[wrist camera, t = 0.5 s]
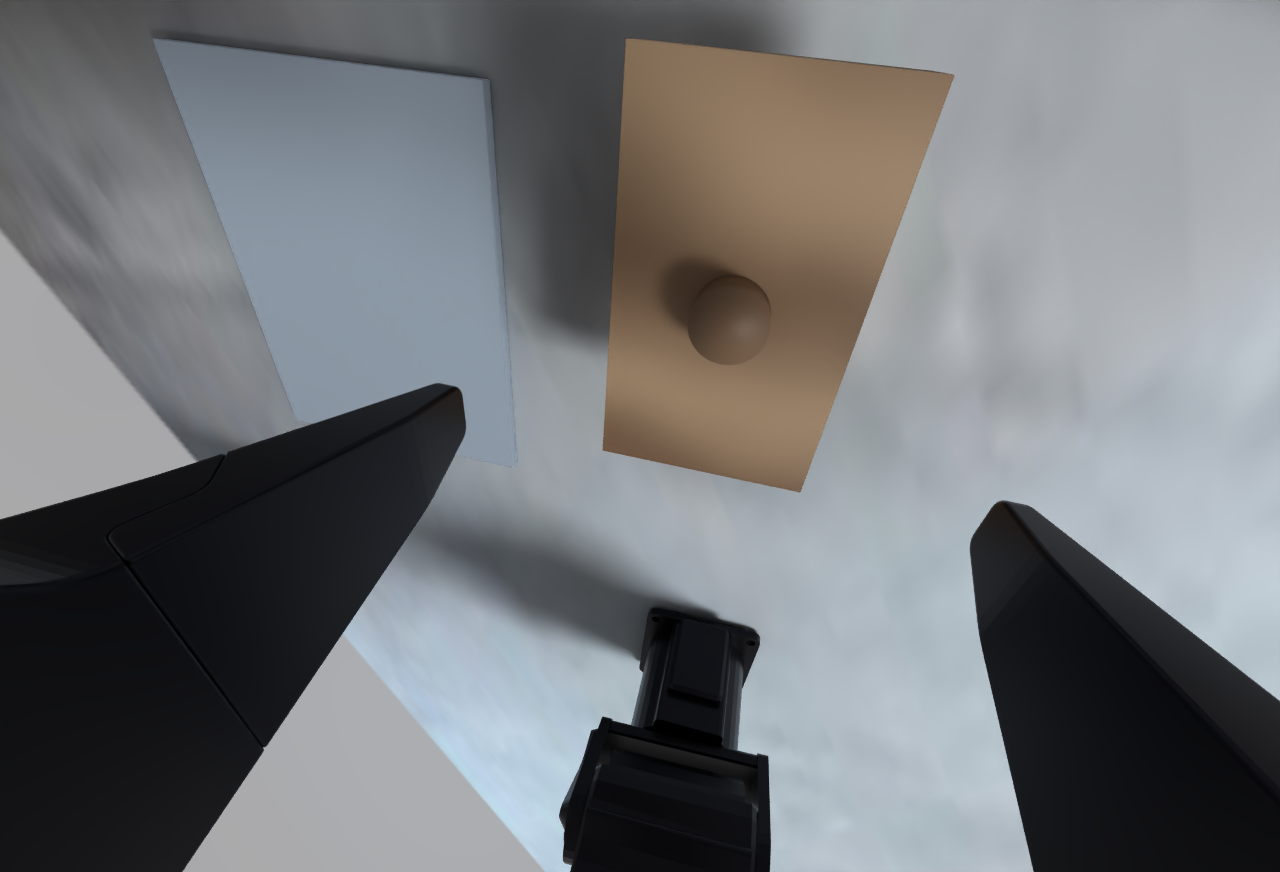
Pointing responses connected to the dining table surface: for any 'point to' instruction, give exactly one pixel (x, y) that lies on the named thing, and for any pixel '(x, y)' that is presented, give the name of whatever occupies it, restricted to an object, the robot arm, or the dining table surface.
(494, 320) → the mat
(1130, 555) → the dining table surface
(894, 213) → the lid
